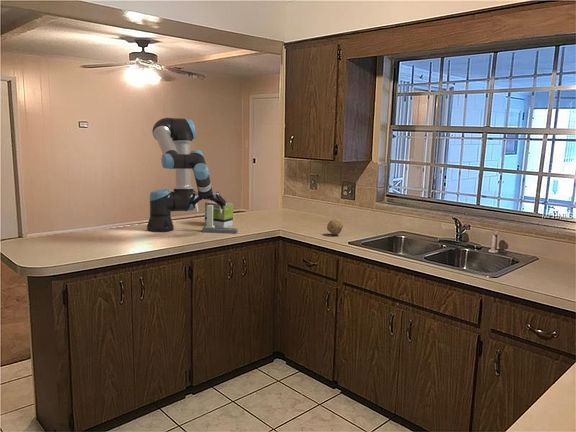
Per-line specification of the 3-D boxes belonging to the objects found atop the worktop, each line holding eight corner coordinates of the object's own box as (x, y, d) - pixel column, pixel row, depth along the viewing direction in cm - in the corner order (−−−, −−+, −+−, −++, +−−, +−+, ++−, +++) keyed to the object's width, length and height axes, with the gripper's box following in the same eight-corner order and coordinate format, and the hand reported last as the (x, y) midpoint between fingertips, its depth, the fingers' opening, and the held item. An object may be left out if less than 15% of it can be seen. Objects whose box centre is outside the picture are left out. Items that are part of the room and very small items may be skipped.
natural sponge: (329, 237, 271) (330, 220, 269) (324, 234, 279) (325, 217, 278) (344, 236, 273) (345, 220, 272) (338, 233, 282) (339, 217, 280)
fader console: (202, 232, 271) (202, 228, 271) (204, 230, 277) (204, 226, 277) (236, 233, 271) (236, 230, 271) (237, 231, 277) (237, 228, 276)
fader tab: (205, 228, 272) (205, 205, 270) (206, 226, 276) (206, 205, 273) (213, 228, 272) (213, 206, 270) (214, 227, 276) (215, 205, 273)
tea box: (204, 225, 293) (204, 201, 290) (213, 223, 302) (214, 200, 299) (223, 228, 286) (224, 204, 283) (233, 225, 295) (233, 202, 292)
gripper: (179, 191, 247) (186, 215, 264) (227, 193, 246) (230, 217, 263) (182, 181, 251) (188, 205, 268) (228, 182, 251) (232, 206, 268)
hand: (209, 211), depth 266 cm, fingers open, 13 cm apart
